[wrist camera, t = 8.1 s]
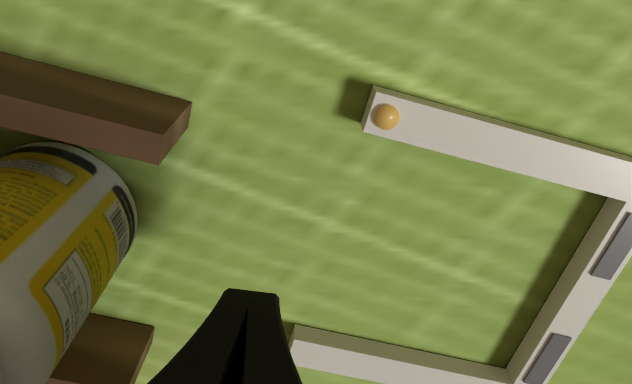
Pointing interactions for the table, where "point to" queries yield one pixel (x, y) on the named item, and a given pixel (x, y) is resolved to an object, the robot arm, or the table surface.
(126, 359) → the holder
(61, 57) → the table surface
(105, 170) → the supplement bottle
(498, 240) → the table surface
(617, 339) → the table surface
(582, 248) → the dock
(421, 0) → the table surface
